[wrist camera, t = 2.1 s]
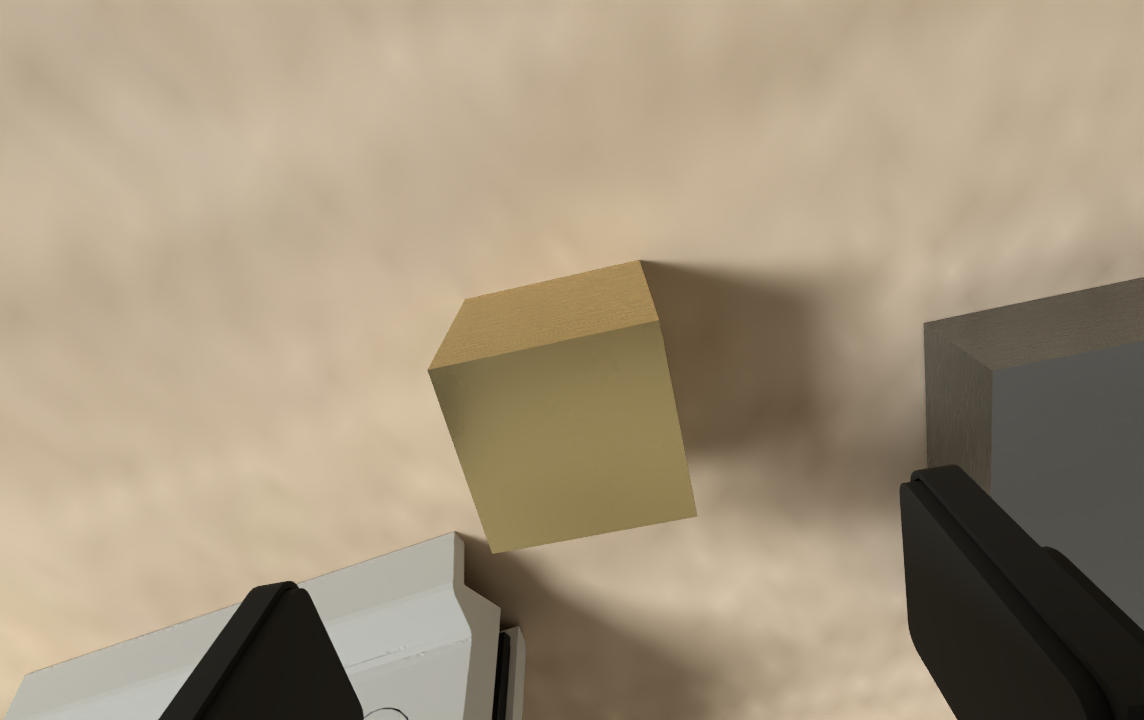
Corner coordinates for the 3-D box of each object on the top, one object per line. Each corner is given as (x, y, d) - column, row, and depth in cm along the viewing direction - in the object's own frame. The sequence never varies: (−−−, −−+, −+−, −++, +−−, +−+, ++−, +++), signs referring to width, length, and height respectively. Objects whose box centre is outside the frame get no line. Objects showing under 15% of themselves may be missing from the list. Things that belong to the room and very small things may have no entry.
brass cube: (465, 298, 17) (427, 370, 12) (638, 259, 16) (659, 319, 12) (512, 447, 18) (492, 553, 14) (670, 415, 18) (697, 516, 14)
